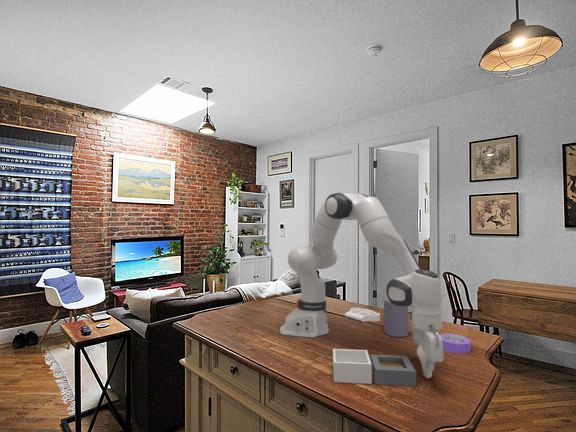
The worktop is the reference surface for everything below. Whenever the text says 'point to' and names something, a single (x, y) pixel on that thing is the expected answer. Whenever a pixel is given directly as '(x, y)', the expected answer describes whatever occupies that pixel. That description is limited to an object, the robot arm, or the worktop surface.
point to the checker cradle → (393, 371)
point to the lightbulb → (424, 362)
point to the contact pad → (391, 365)
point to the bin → (352, 366)
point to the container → (395, 319)
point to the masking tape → (456, 343)
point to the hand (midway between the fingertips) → (427, 364)
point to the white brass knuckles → (363, 314)
